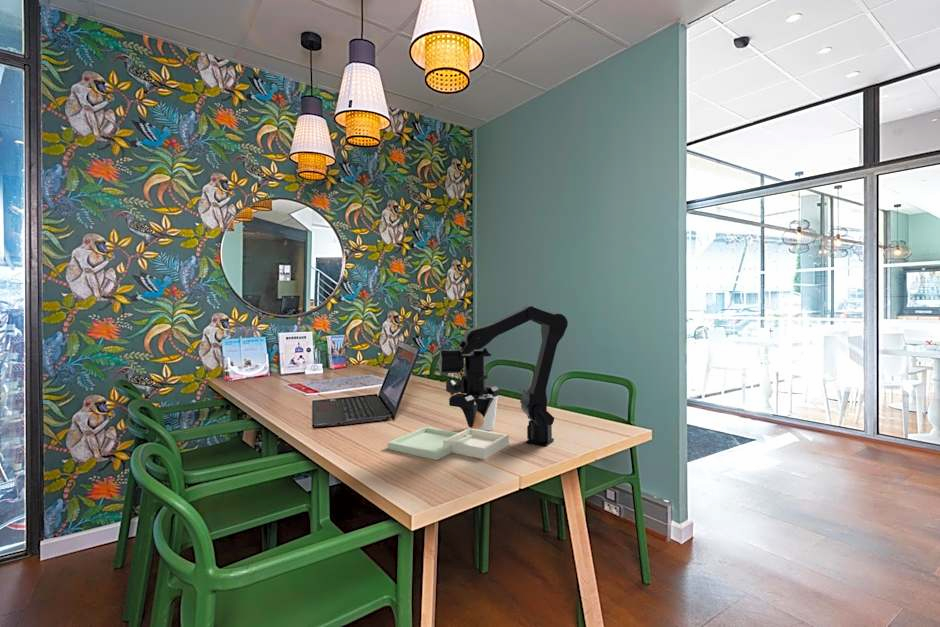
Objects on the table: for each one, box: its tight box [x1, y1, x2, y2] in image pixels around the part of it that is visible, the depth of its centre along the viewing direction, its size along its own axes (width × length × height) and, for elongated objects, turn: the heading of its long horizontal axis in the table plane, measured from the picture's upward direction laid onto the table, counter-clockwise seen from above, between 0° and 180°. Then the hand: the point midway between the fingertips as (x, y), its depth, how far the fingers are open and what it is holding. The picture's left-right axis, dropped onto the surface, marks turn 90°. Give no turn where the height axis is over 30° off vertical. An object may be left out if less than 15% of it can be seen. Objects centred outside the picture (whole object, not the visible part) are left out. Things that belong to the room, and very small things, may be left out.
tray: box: [387, 426, 472, 461], centre depth 135 cm, size 18×18×2 cm
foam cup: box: [474, 394, 499, 431], centre depth 151 cm, size 10×9×13 cm
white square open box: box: [443, 427, 510, 460], centre depth 132 cm, size 14×14×3 cm
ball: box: [470, 412, 484, 429], centre depth 132 cm, size 5×5×5 cm
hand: (475, 424), depth 132 cm, fingers closed on ball, 5 cm apart
